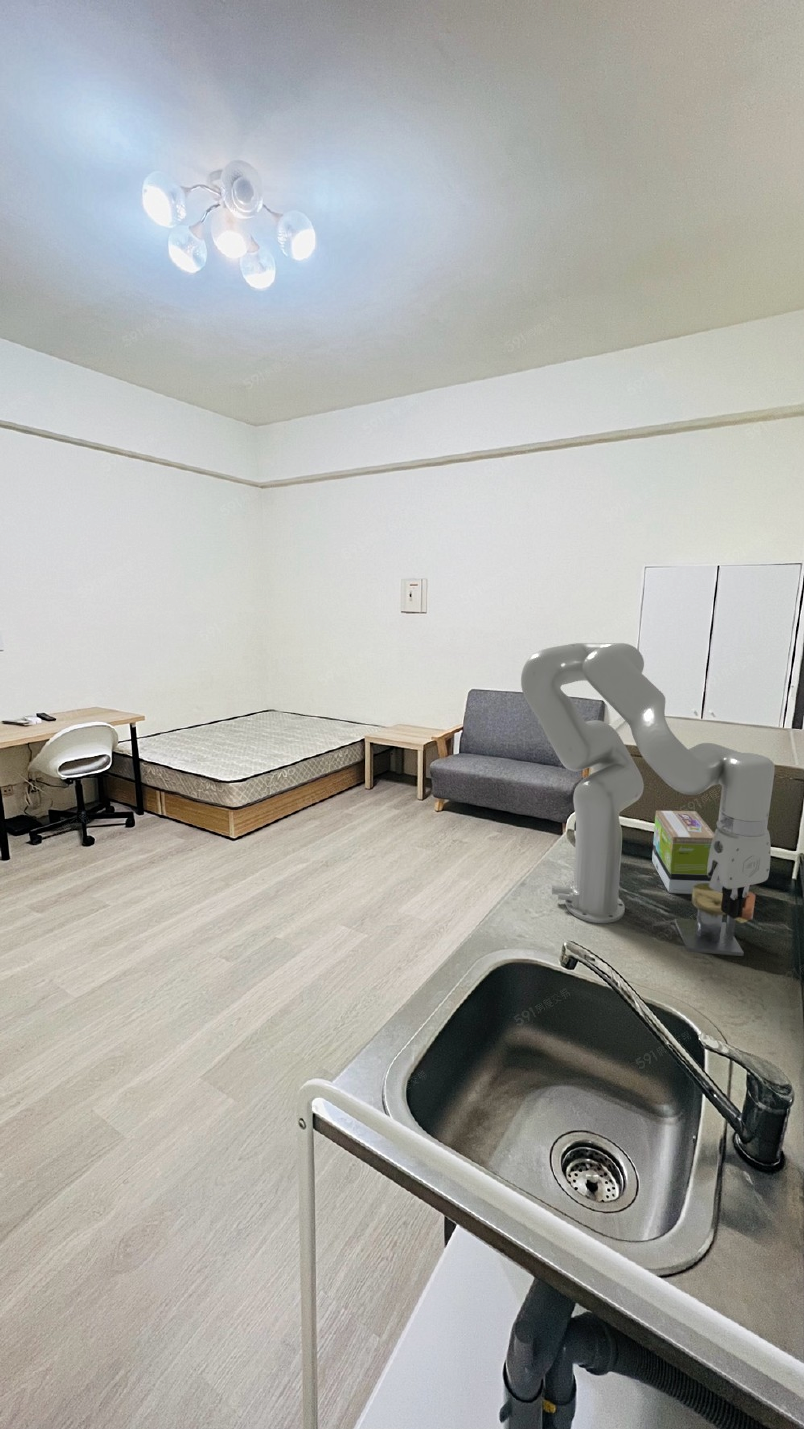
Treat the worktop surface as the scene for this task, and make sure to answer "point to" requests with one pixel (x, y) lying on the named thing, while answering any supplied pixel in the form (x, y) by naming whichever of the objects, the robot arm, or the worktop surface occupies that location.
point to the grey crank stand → (709, 934)
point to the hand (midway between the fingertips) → (731, 913)
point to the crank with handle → (719, 902)
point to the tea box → (681, 849)
